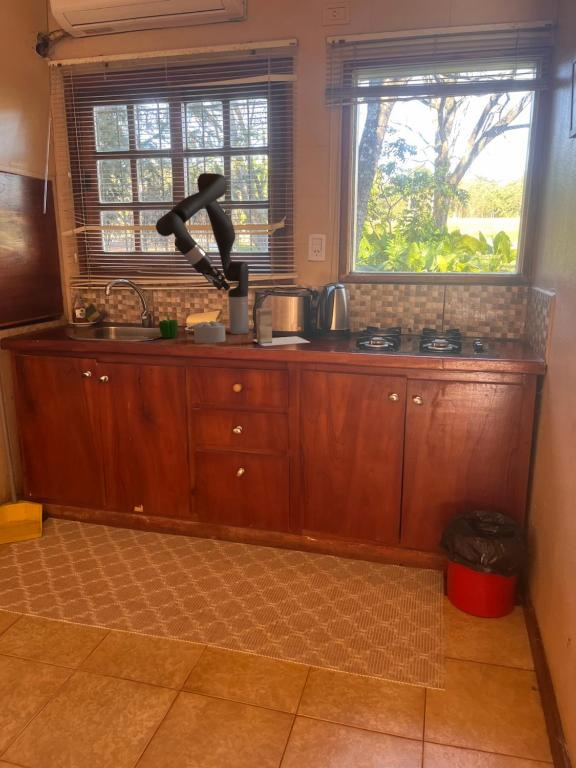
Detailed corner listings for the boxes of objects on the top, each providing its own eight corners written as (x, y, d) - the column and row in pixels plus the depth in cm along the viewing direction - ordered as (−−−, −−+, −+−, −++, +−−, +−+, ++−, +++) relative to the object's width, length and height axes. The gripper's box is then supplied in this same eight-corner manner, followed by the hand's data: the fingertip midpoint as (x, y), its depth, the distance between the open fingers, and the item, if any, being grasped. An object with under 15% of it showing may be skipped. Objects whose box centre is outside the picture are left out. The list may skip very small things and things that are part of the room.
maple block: (257, 341, 234) (256, 308, 230) (268, 340, 236) (267, 308, 232) (260, 343, 229) (260, 310, 226) (272, 342, 231) (271, 309, 228)
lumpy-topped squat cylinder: (201, 339, 245) (200, 320, 243) (228, 340, 242) (228, 320, 240) (192, 343, 235) (191, 323, 233) (221, 344, 232) (220, 324, 230)
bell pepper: (175, 339, 245) (173, 317, 243) (157, 339, 246) (156, 317, 244) (181, 336, 253) (180, 314, 251) (164, 335, 254) (163, 314, 252)
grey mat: (252, 341, 239) (252, 339, 239) (296, 337, 246) (296, 336, 246) (263, 347, 224) (263, 345, 224) (310, 343, 232) (310, 342, 232)
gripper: (210, 250, 208) (237, 282, 215) (198, 252, 221) (224, 282, 228) (196, 264, 207) (224, 295, 214) (185, 265, 219) (212, 295, 226)
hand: (224, 288), depth 221 cm, fingers open, 8 cm apart
